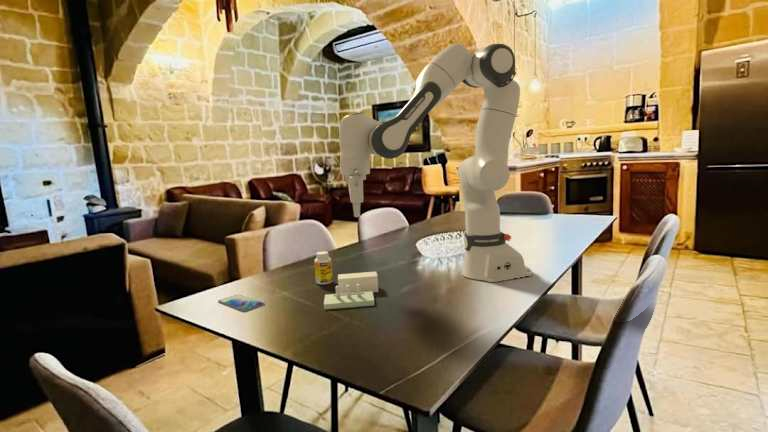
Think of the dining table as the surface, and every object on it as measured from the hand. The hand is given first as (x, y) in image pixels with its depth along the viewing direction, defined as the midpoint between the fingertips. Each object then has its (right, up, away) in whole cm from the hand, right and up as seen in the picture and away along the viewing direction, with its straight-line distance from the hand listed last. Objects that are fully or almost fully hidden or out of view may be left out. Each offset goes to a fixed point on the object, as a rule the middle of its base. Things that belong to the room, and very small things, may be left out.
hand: (356, 214), depth 128 cm
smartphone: (-34, -27, -3) cm, 44 cm away
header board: (-2, -25, -7) cm, 26 cm away
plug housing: (0, -24, +3) cm, 24 cm away
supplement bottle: (-12, -23, +13) cm, 29 cm away
